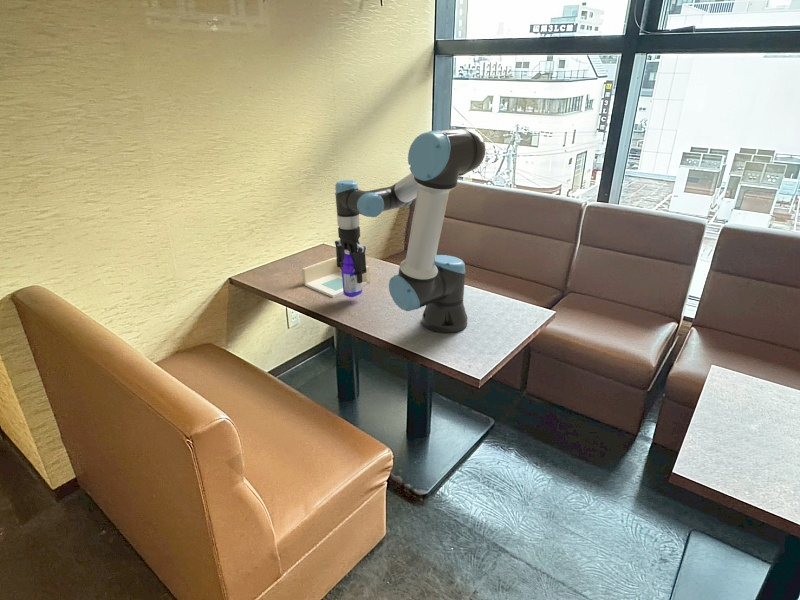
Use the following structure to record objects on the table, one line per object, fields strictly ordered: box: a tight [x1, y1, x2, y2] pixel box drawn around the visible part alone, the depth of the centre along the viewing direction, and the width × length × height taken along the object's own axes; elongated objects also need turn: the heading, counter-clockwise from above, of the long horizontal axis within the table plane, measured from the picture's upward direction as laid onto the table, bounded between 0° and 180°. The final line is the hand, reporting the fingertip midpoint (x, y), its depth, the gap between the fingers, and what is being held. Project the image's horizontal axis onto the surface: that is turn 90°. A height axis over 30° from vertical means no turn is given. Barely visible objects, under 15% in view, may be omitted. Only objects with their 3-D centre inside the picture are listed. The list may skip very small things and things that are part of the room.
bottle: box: [342, 249, 363, 298], centre depth 181 cm, size 7×6×17 cm
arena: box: [301, 256, 370, 299], centre depth 198 cm, size 18×19×7 cm
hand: (352, 288), depth 183 cm, fingers closed on bottle, 5 cm apart
